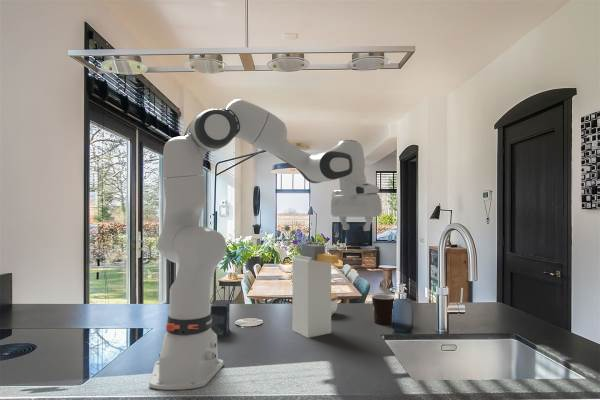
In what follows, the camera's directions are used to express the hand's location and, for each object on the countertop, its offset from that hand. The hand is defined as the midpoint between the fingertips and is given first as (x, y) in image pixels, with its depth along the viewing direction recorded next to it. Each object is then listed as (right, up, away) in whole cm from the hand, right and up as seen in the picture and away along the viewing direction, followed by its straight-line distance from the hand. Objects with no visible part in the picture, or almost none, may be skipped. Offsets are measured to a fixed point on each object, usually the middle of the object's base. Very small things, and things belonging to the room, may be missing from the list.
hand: (356, 230), depth 135 cm
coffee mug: (+14, -38, +23) cm, 46 cm away
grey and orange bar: (-12, -11, +6) cm, 17 cm away
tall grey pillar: (-15, -37, +9) cm, 41 cm away
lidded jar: (-8, -38, +33) cm, 51 cm away
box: (-47, -37, +8) cm, 61 cm away
